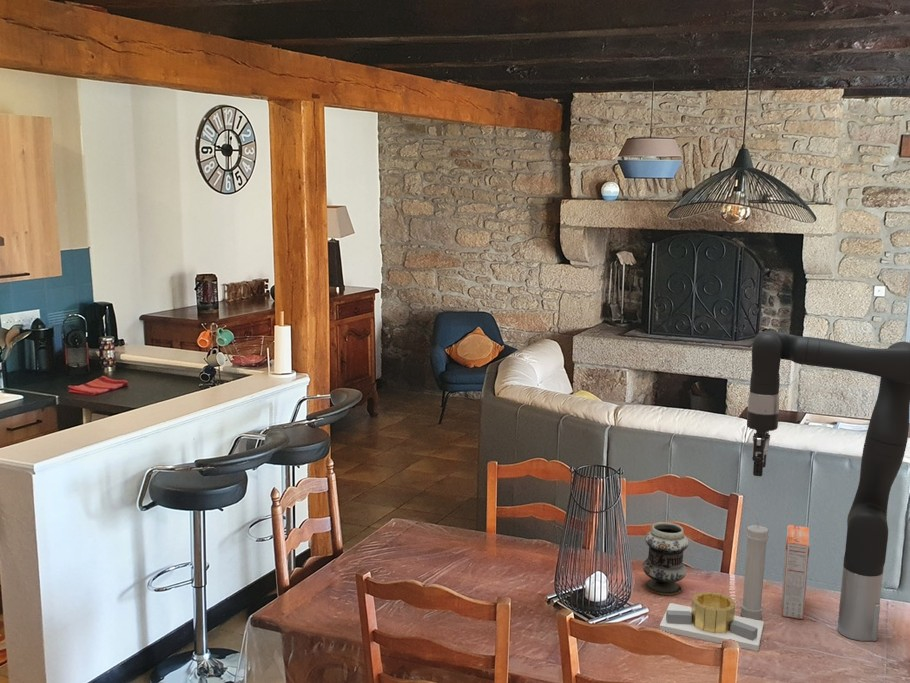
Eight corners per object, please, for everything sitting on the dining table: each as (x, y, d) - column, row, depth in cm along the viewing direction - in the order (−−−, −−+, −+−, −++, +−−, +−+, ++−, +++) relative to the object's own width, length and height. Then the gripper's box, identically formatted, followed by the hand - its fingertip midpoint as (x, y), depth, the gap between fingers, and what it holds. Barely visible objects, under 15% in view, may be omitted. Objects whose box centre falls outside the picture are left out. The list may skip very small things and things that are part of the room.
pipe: (763, 621, 239) (772, 511, 234) (738, 618, 241) (746, 509, 235) (760, 612, 245) (769, 504, 240) (736, 609, 246) (744, 502, 241)
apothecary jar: (682, 600, 251) (686, 538, 248) (637, 592, 255) (641, 531, 252) (688, 583, 262) (692, 523, 259) (645, 576, 266) (649, 516, 263)
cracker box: (781, 595, 255) (787, 523, 252) (804, 599, 253) (810, 526, 250) (779, 616, 242) (786, 541, 239) (804, 620, 240) (810, 545, 237)
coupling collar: (735, 618, 237) (737, 597, 236) (730, 636, 228) (732, 613, 227) (694, 610, 241) (696, 589, 240) (688, 627, 232) (689, 605, 231)
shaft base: (763, 626, 237) (764, 612, 236) (758, 651, 224) (759, 636, 223) (669, 608, 246) (670, 594, 245) (659, 630, 233) (660, 616, 233)
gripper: (776, 417, 226) (772, 481, 228) (781, 405, 238) (777, 465, 241) (744, 414, 229) (740, 477, 231) (750, 402, 241) (747, 462, 244)
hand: (759, 471), depth 236 cm, fingers open, 8 cm apart
